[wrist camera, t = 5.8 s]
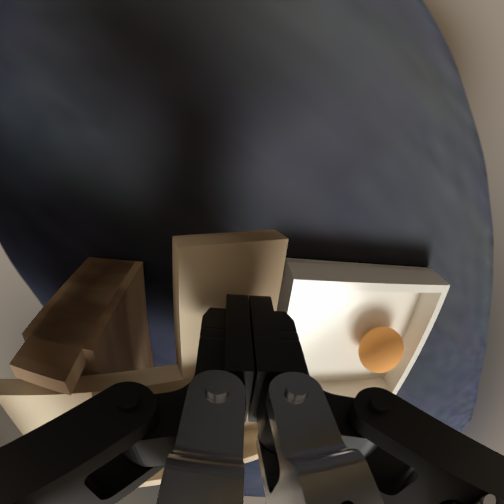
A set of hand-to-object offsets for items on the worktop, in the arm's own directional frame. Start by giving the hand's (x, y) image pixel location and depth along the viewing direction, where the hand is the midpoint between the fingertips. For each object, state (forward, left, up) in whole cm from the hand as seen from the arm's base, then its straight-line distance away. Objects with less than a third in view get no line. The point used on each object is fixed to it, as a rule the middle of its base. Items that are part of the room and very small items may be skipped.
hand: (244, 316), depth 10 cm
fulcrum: (+7, -8, -8) cm, 13 cm away
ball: (+7, +10, -7) cm, 14 cm away
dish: (+7, +9, -8) cm, 14 cm away
